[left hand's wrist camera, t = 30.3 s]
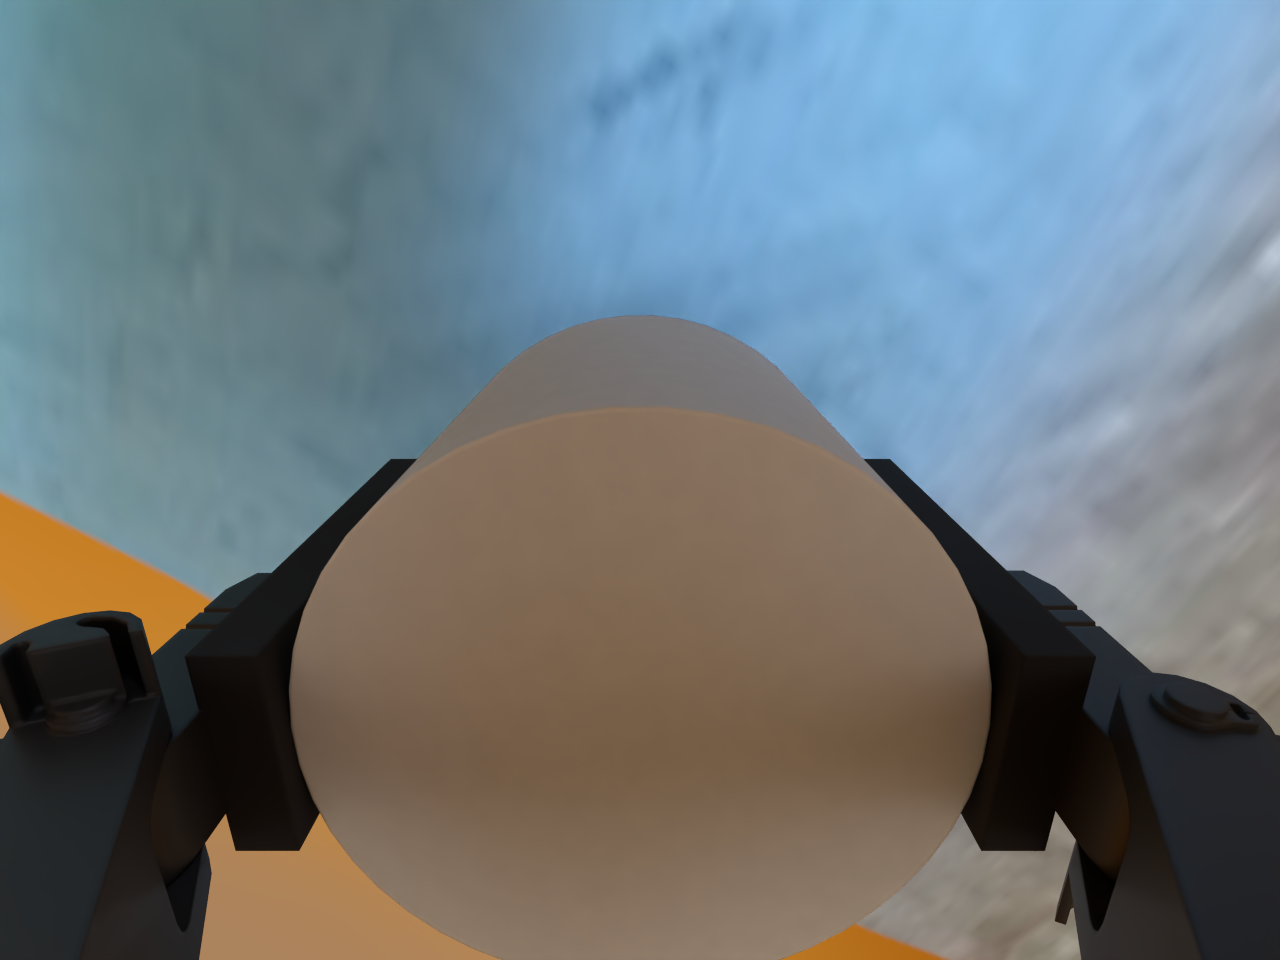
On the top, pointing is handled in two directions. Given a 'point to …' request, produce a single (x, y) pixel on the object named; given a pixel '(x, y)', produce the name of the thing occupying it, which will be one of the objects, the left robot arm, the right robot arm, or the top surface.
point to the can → (640, 665)
